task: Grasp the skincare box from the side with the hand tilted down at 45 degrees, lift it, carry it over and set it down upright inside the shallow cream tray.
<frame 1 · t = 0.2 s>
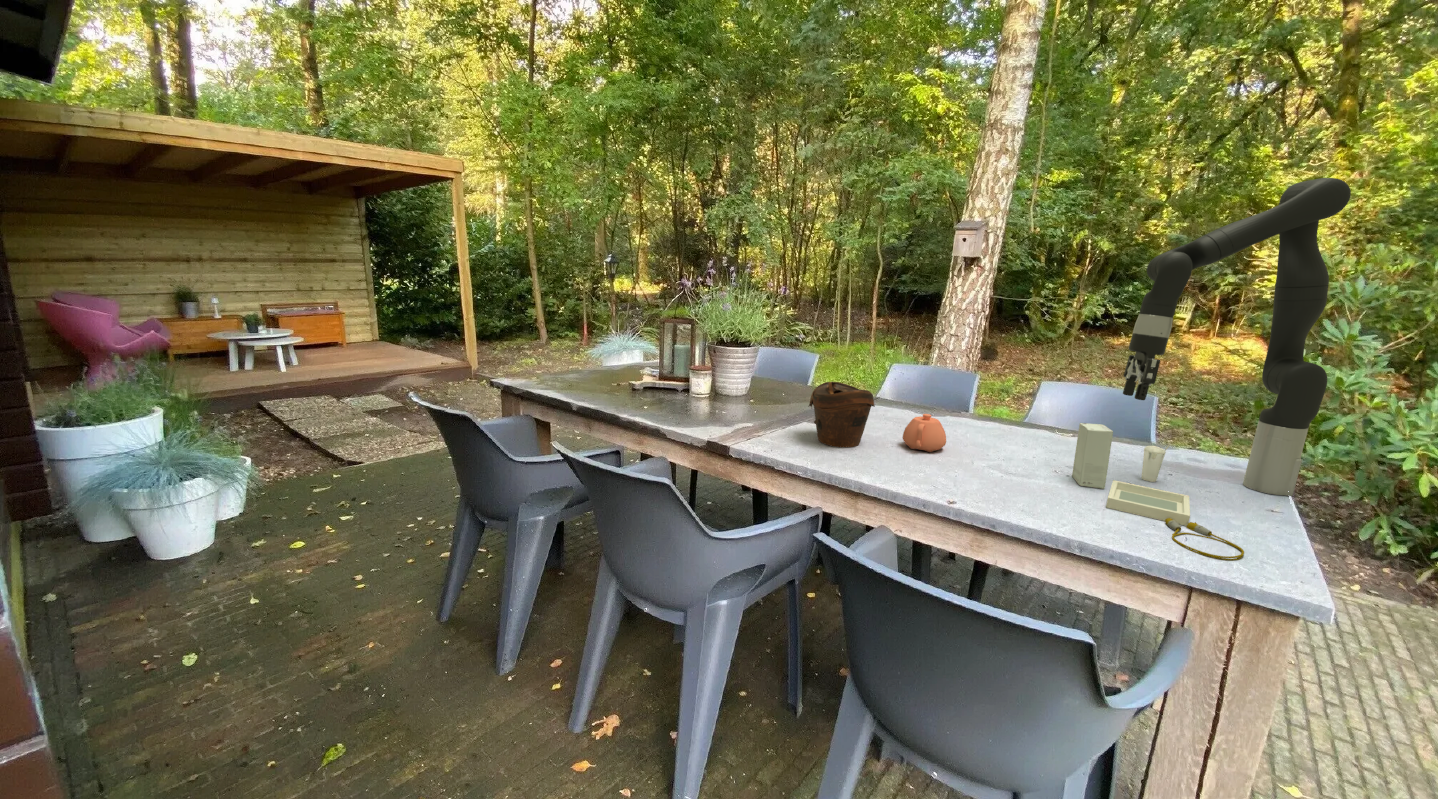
hand: (1133, 397, 153), 22 cm above the table, tool pointing down, fingers open, 8 cm apart
skincare box: (1086, 483, 153), on the table
milkshake: (1150, 480, 157), on the table
extension cord: (1202, 545, 121), on the table
sugar bowl: (922, 449, 177), on the table
case: (837, 441, 181), on the table
shallow cream tray: (1146, 506, 139), on the table
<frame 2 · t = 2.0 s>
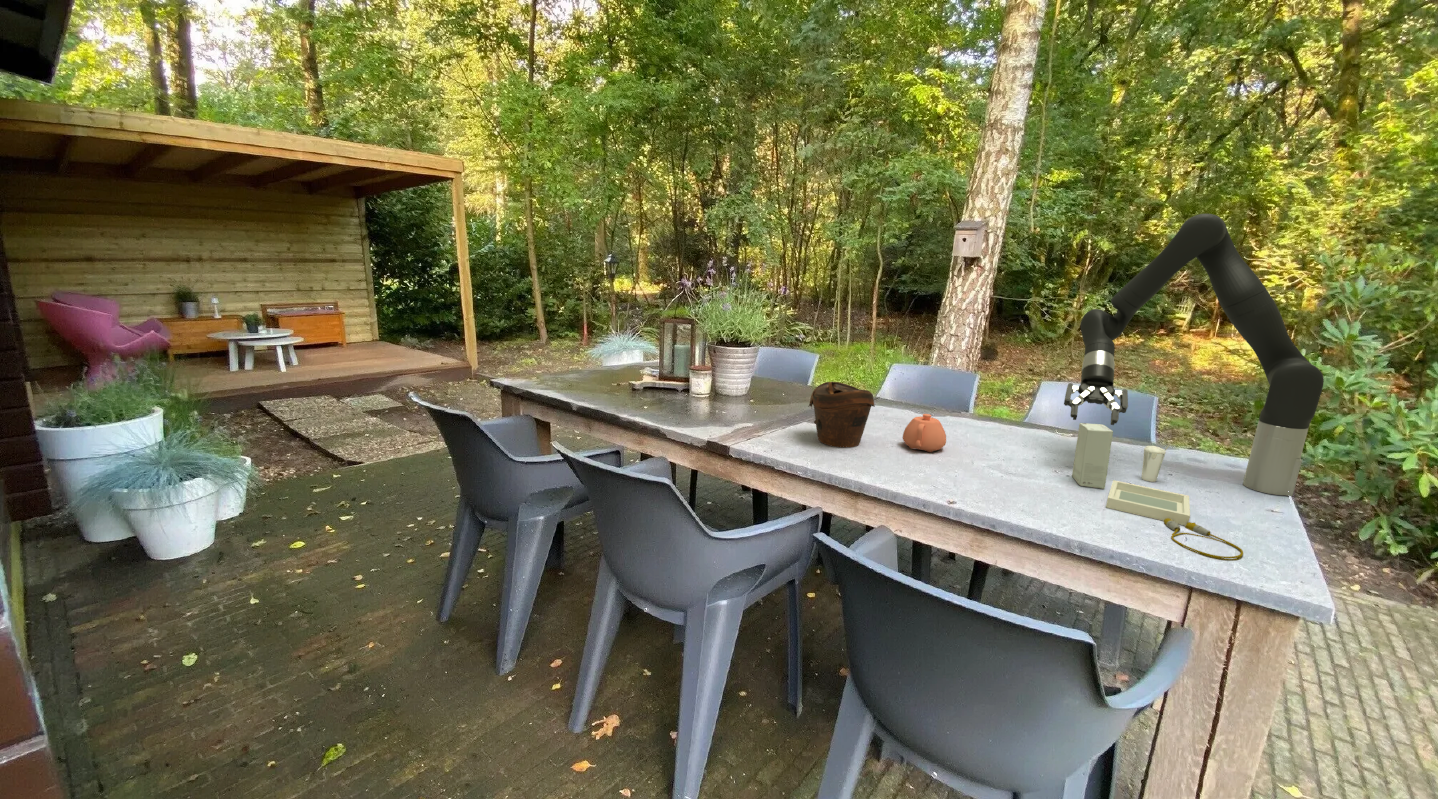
hand: (1093, 420, 156), 15 cm above the table, tool tilted 45°, fingers open, 8 cm apart
nothing on the table moved.
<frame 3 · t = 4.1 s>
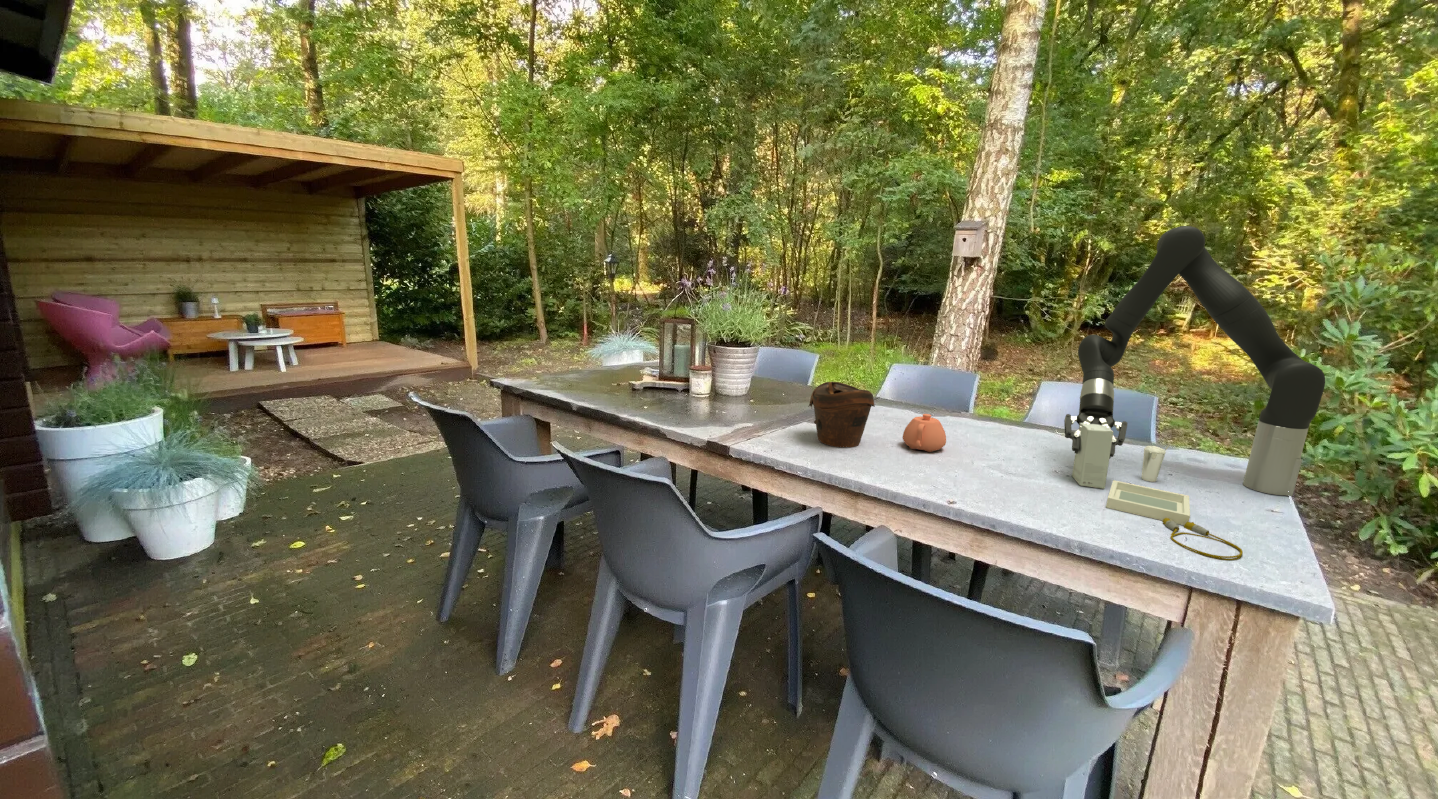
hand: (1092, 454, 150), 8 cm above the table, tool tilted 45°, fingers closed on skincare box, 6 cm apart
skincare box: (1086, 482, 153), on the table, touching gripper
everything else where it was.
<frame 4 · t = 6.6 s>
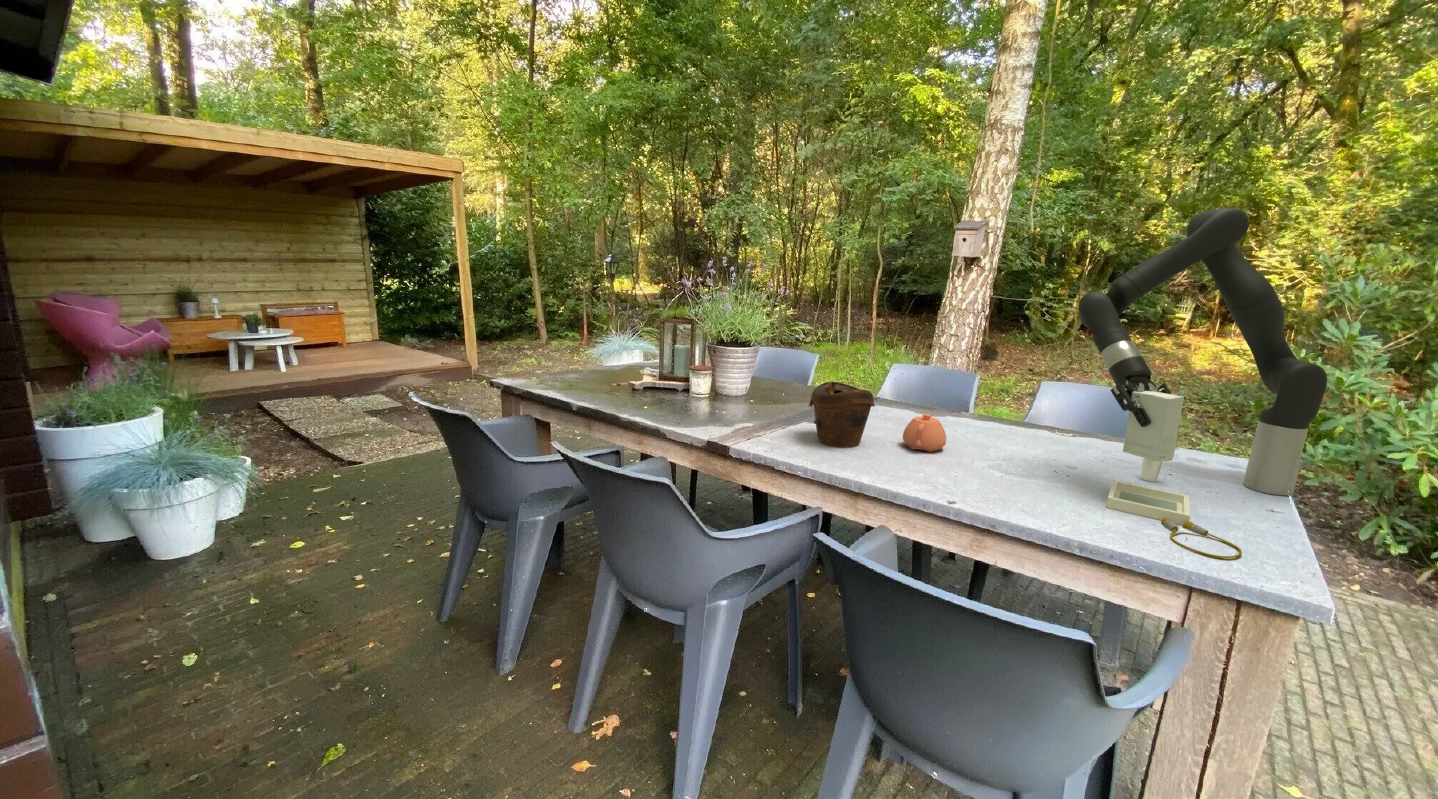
hand: (1159, 424, 135), 19 cm above the table, tool tilted 45°, fingers closed on skincare box, 6 cm apart
skincare box: (1145, 456, 138), point 11 cm above the table, touching gripper
everything else where it was.
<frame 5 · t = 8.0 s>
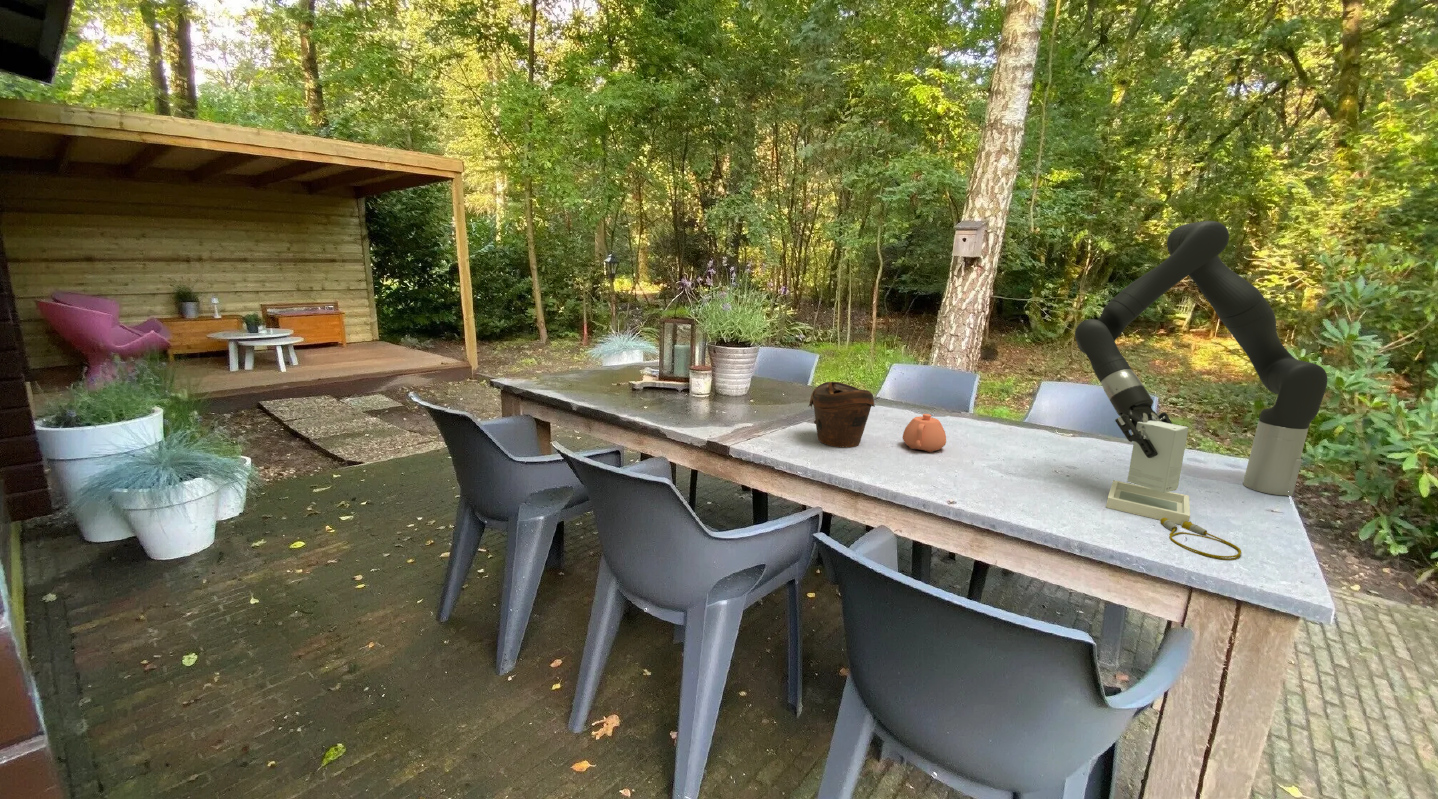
hand: (1164, 455, 135), 13 cm above the table, tool tilted 45°, fingers closed on skincare box, 6 cm apart
skincare box: (1150, 486, 138), point 5 cm above the table, touching gripper
everything else where it was.
when the fingers open (10 cm above the table, at t = 9.2 s): skincare box drops 1 cm, resting on shallow cream tray.
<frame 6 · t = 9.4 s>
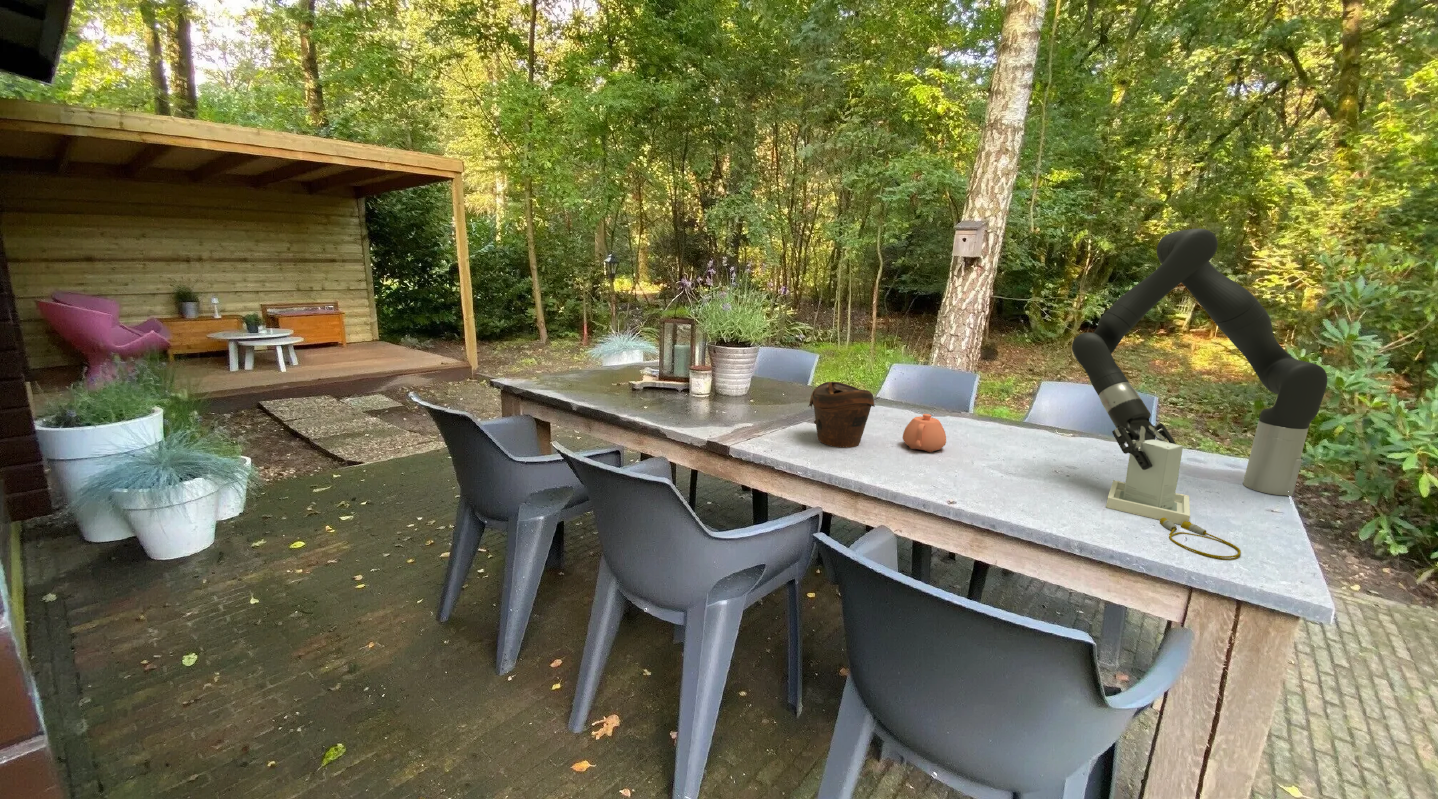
hand: (1161, 467, 135), 10 cm above the table, tool tilted 45°, fingers open, 8 cm apart
skincare box: (1145, 504, 139), resting on shallow cream tray
everything else where it was.
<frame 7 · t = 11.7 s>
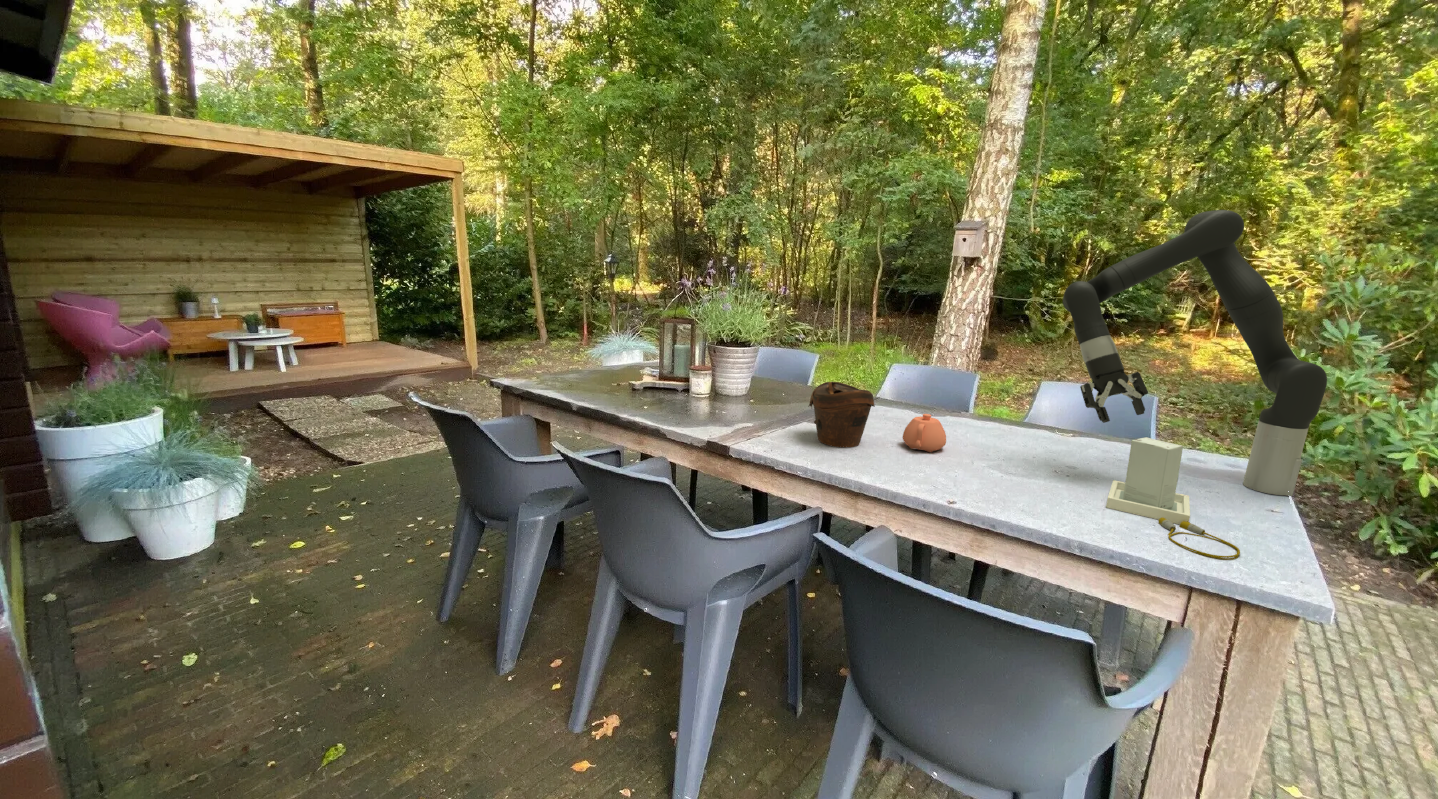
hand: (1123, 418, 149), 17 cm above the table, tool tilted 30°, fingers open, 8 cm apart
nothing on the table moved.
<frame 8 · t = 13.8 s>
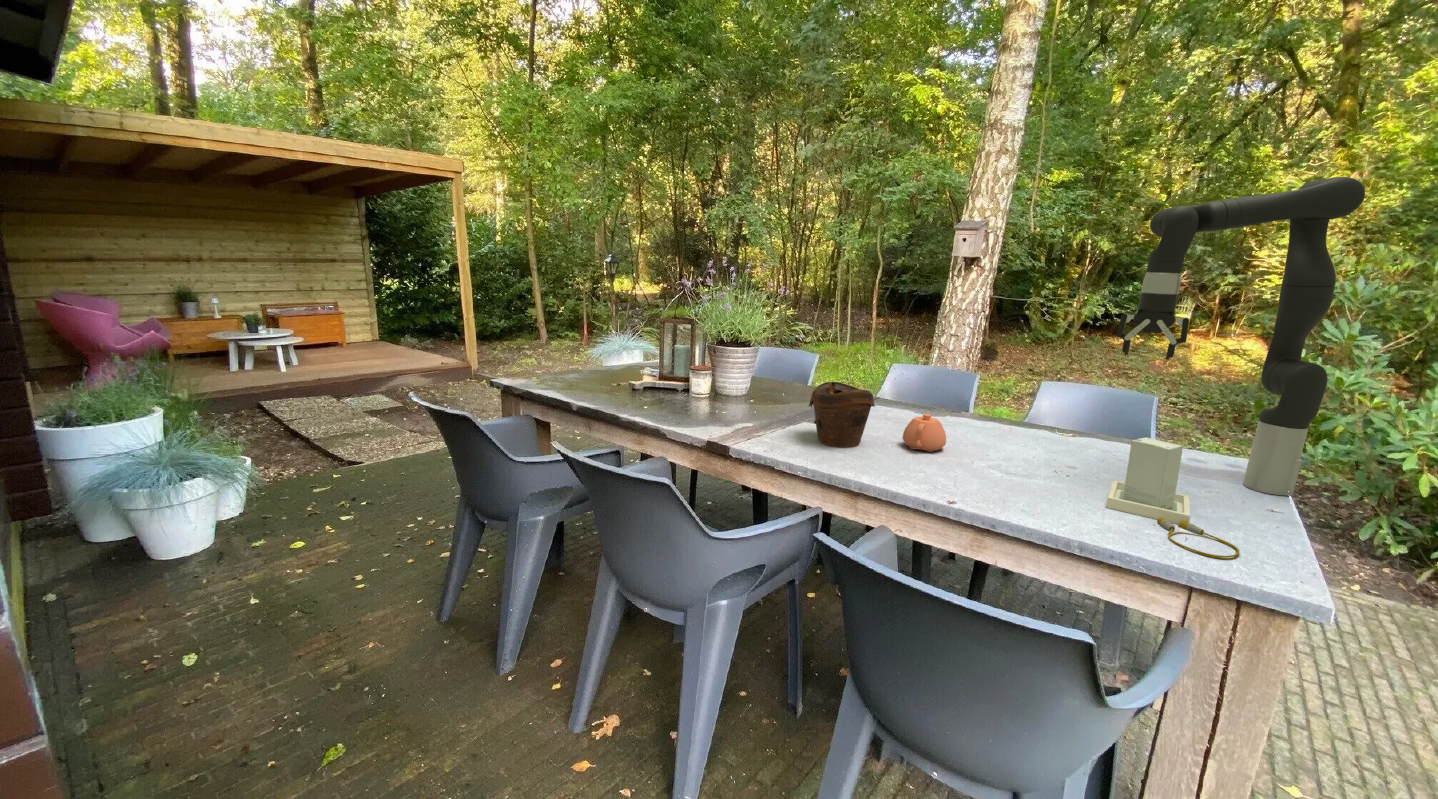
hand: (1146, 357, 151), 32 cm above the table, tool pointing down, fingers open, 8 cm apart
nothing on the table moved.
at the end: skincare box inside the target area on the shallow cream tray (0.4 cm from its centre), point 0.5 cm above the shallow cream tray's base; skincare box tilted 0°; the gripper is holding nothing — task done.
